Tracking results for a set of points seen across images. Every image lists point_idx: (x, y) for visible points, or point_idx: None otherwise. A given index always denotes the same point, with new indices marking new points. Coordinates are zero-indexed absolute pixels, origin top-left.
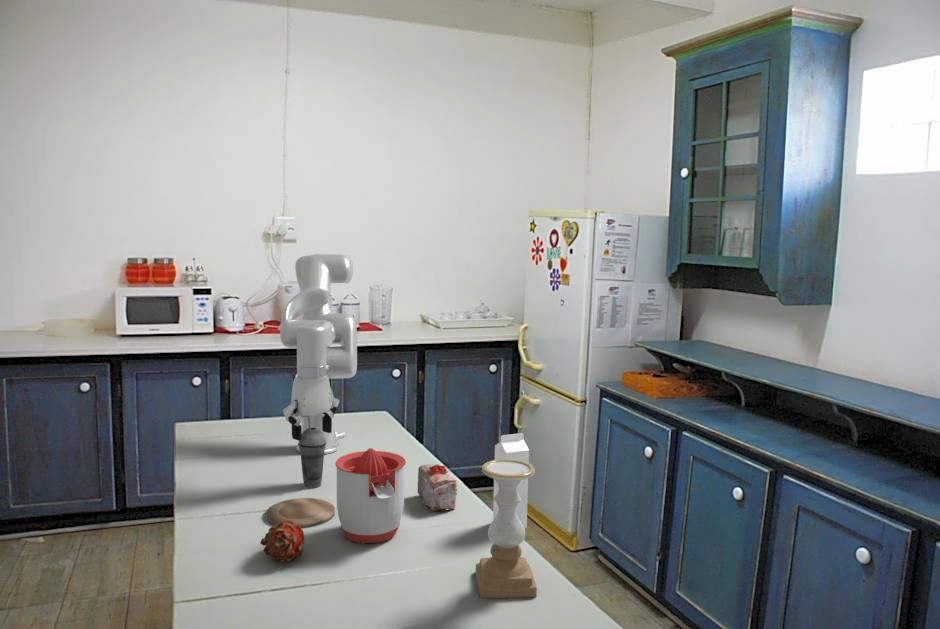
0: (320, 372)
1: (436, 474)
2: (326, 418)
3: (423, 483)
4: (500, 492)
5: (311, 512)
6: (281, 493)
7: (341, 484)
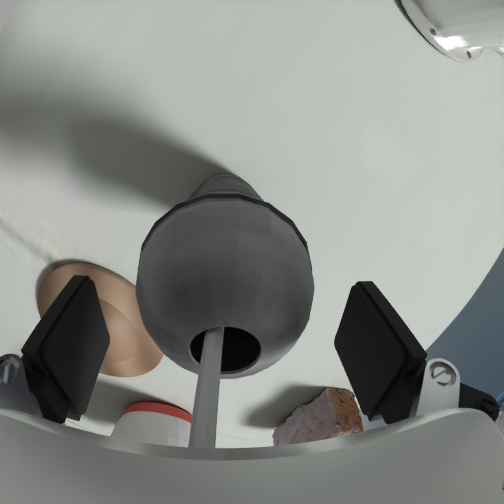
0: None
1: None
2: (381, 397)
3: (300, 438)
4: None
5: (109, 351)
6: (116, 190)
7: None
